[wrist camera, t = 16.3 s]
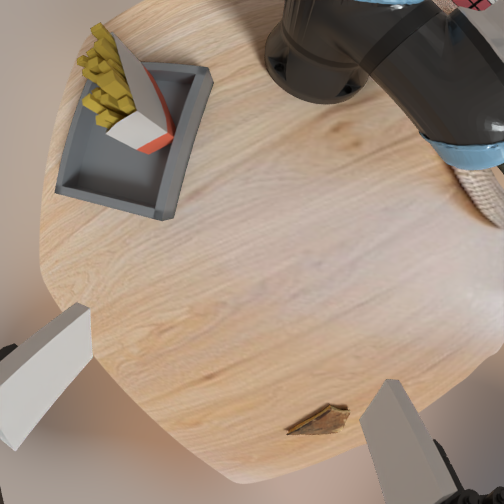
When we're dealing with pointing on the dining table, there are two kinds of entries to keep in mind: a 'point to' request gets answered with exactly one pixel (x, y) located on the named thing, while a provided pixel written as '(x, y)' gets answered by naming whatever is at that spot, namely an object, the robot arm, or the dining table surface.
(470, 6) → the puzzle cube
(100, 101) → the french fries container
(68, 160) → the tray
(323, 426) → the shard
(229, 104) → the dining table surface
